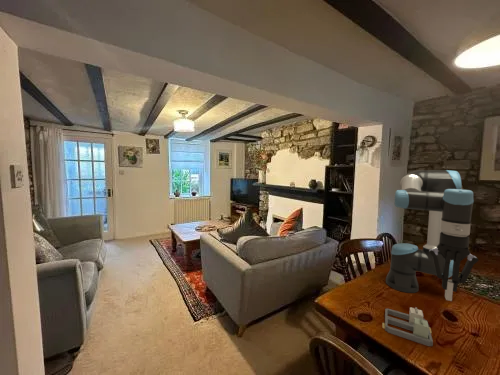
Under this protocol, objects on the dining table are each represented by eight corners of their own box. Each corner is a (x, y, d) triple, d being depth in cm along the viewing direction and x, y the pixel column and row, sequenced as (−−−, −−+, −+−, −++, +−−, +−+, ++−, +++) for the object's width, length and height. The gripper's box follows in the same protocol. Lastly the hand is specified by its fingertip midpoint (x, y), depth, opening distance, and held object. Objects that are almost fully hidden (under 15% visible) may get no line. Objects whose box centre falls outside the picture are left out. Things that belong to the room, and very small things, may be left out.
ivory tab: (408, 320, 93) (410, 305, 93) (420, 324, 91) (422, 308, 90) (409, 326, 90) (410, 310, 89) (422, 330, 88) (423, 314, 87)
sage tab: (412, 331, 87) (414, 315, 86) (425, 335, 85) (427, 319, 84) (413, 338, 83) (415, 321, 83) (427, 342, 81) (429, 325, 81)
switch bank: (381, 313, 100) (382, 306, 99) (430, 327, 91) (430, 320, 91) (381, 333, 88) (381, 325, 87) (436, 352, 79) (437, 344, 78)
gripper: (431, 233, 77) (426, 297, 79) (484, 240, 70) (476, 310, 72) (428, 228, 84) (423, 288, 86) (477, 234, 77) (470, 299, 79)
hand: (448, 298), depth 79 cm, fingers closed
